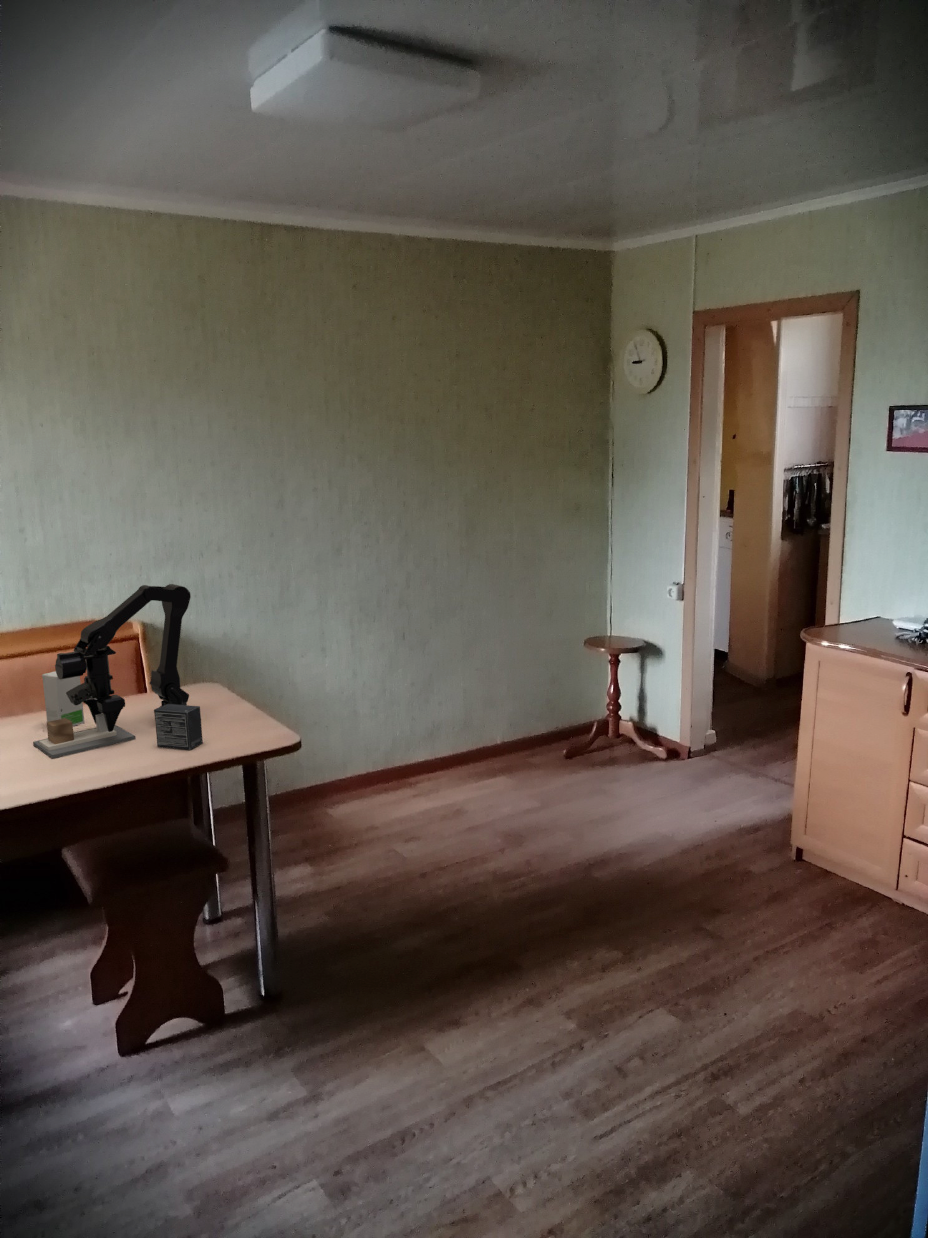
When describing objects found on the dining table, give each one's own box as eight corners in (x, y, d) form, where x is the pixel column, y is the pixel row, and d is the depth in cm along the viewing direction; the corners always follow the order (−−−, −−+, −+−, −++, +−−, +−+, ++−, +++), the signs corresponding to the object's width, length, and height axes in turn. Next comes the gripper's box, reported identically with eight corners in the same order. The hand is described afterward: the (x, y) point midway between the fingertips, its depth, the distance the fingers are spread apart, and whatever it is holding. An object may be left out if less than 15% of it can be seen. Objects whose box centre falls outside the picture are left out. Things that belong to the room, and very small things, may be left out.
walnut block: (67, 735, 260) (65, 718, 259) (74, 740, 256) (72, 722, 255) (48, 740, 256) (46, 722, 255) (54, 744, 253) (52, 726, 252)
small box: (204, 743, 258) (201, 705, 256) (190, 751, 252) (187, 712, 250) (171, 739, 261) (167, 702, 259) (156, 747, 255) (152, 709, 253)
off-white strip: (106, 729, 268) (104, 710, 267) (116, 735, 262) (114, 715, 261) (39, 744, 256) (37, 724, 255) (48, 750, 251) (46, 730, 250)
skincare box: (60, 730, 271) (54, 677, 268) (46, 727, 274) (39, 674, 271) (86, 722, 278) (80, 670, 275) (71, 719, 281) (65, 667, 278)
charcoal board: (113, 727, 273) (113, 723, 273) (135, 739, 262) (135, 735, 262) (33, 745, 259) (32, 741, 259) (52, 758, 248) (52, 755, 248)
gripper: (55, 671, 262) (61, 726, 265) (80, 684, 248) (87, 742, 251) (96, 664, 269) (102, 718, 272) (123, 676, 255) (128, 732, 259)
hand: (104, 727), depth 263 cm, fingers open, 9 cm apart
